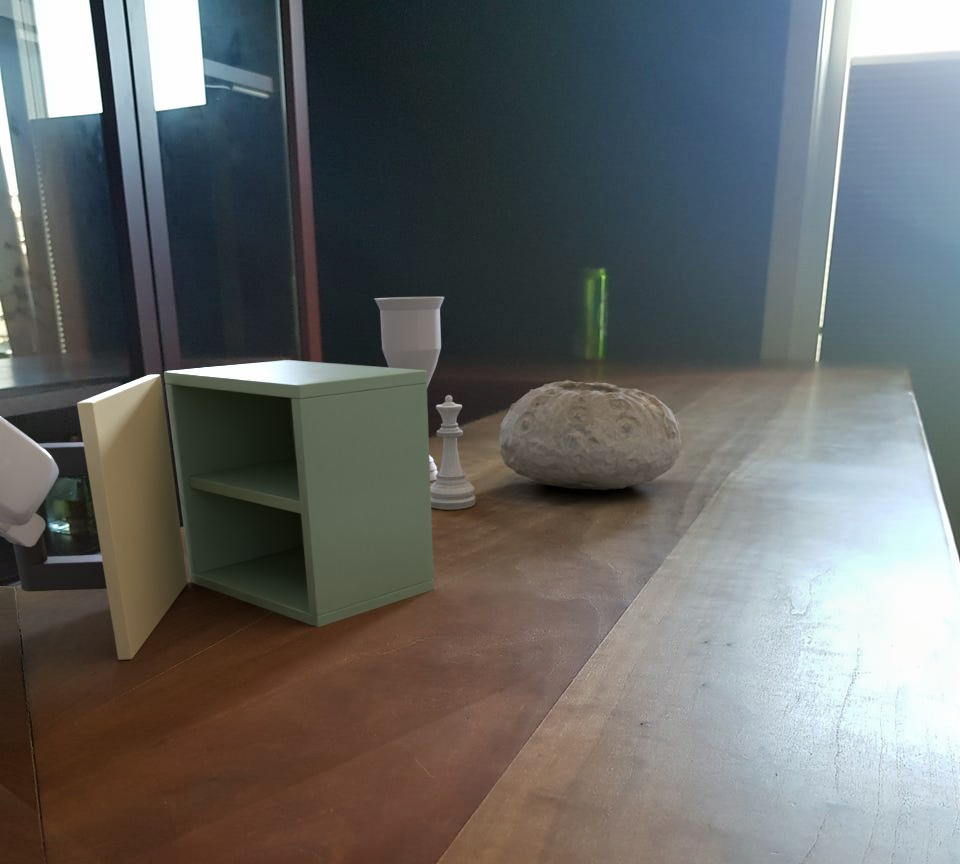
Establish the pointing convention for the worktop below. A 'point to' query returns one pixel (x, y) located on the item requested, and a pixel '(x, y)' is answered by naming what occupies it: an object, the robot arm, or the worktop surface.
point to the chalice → (412, 336)
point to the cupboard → (304, 484)
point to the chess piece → (450, 464)
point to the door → (120, 513)
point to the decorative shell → (589, 436)
